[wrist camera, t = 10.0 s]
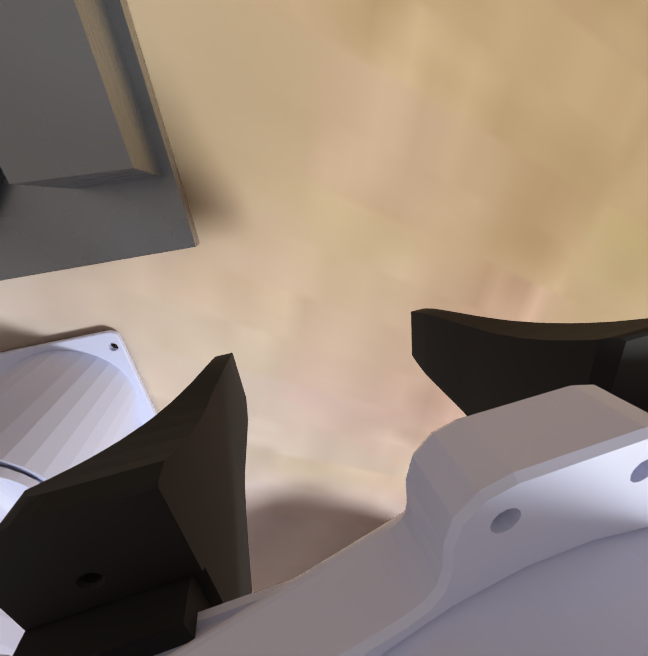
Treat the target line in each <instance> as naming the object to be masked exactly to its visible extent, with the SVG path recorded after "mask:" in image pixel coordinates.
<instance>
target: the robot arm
mask: <svg viewBox="0 0 648 656" xmlns="http://www.w3.org/2000/svg"><path fill="white" fill-rule="evenodd" d="M411 326H412V356H413V357H414V359H415V360H416V362H417V363H418V364H419V366H420V367H421V368H422V370H423V371H424V372H425V374H426V375H427V376H428V377H429V378H430V379H431V380H432V381H433V382H434V383H435V384H436V385H437V386H438V387H439V388H440V389H441V390H442V391H443V392H444V393H445V394H446V395H447V396H448V397H449V398H450V399H451V400H452V401H453V402H454V403H455V404H456V405H457V406H458V407H459V408H460V409H461V410H462V411H463V412H464V413H465V414H466V415H467V416H466V417H463V418H460V419H456V420H454V421H453V422H451V423H449V424H447V425H445V426H443V427H441V428H439V429H437V430H435V431H433V432H432V433H431V434H430V435H429V436H428V437H427V439H426V440H425V441H424V442H423V443H422V444H421V445H420V446H419V448H418V449H417V450H416V451H415V452H414V454H413V456H412V460H411V463H410V467H409V470H408V474H407V477H406V493H407V504H406V510H405V512H403V513H401V514H399V515H398V516H396V517H394V518H393V519H391V520H389V521H388V522H386V523H385V524H383V525H381V526H380V527H378V528H376V529H375V530H373V531H371V532H370V533H368V534H366V535H365V536H363V537H361V538H360V539H358V540H357V541H355V542H353V543H352V544H350V545H348V546H347V547H345V548H343V549H342V550H340V551H338V552H337V553H335V554H333V555H332V556H330V557H329V558H327V559H325V560H324V561H322V562H320V563H319V564H317V565H315V566H314V567H312V568H310V569H309V570H307V571H305V572H304V573H302V574H301V575H299V576H297V577H296V578H293V579H290V580H288V581H285V582H282V583H279V584H276V585H274V586H271V587H268V588H265V589H262V590H259V591H257V592H254V593H252V585H251V573H250V561H249V548H248V533H247V518H246V499H245V463H246V446H247V429H248V414H247V403H246V396H245V393H244V389H243V386H242V383H241V379H240V376H239V373H238V369H237V366H236V363H235V360H234V356H233V353H230V354H225V355H221V356H216V357H215V358H214V359H213V360H212V361H211V362H210V363H209V364H208V365H207V366H206V367H205V368H204V370H203V371H202V372H201V373H200V374H199V375H198V376H197V377H196V378H195V379H194V381H193V382H192V383H191V384H190V385H189V386H188V387H187V388H186V389H185V390H184V391H183V392H182V393H180V394H179V395H178V396H177V397H176V398H175V399H174V400H173V401H172V402H171V403H170V404H169V405H168V406H166V407H165V408H164V409H163V410H162V411H160V412H159V413H158V414H157V413H156V411H155V409H154V406H153V404H152V402H151V400H150V398H149V396H148V393H147V391H146V389H145V387H144V385H143V383H142V380H141V378H140V376H139V374H138V372H137V370H136V367H135V365H134V363H133V361H132V359H131V357H130V355H129V352H128V350H127V348H126V346H125V344H124V342H123V339H122V337H121V335H120V334H119V333H118V332H116V331H114V330H107V331H102V332H97V333H92V334H88V335H83V336H78V337H73V338H68V339H63V340H58V341H54V342H49V343H44V344H39V345H34V346H29V347H24V348H20V349H15V350H10V351H5V352H0V656H648V318H647V319H637V320H627V321H616V322H598V323H533V322H519V321H508V320H500V319H493V318H486V317H480V316H474V315H468V314H462V313H457V312H451V311H445V310H439V309H427V308H425V309H420V310H416V311H412V312H411ZM111 343H114V344H117V346H118V348H113V347H112V346H111Z"/></svg>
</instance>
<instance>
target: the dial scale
mask: <svg viewBox="0 0 648 656" xmlns="http://www.w3.org/2000/svg"><path fill="white" fill-rule="evenodd" d="M198 244H199V240H198V236H197V233H196V230H195V226H194V223H193V220H192V217H191V213H190V210H189V207H188V203H187V200H186V197H185V193H184V190H183V187H182V183H181V180H180V177H179V173H178V170H177V167H176V164H175V160H174V157H173V154H172V150H171V147H170V144H169V140H168V137H167V134H166V130H165V127H164V124H163V120H162V117H161V114H160V111H159V107H158V104H157V101H156V97H155V94H154V91H153V87H152V84H151V81H150V77H149V74H148V71H147V67H146V64H145V61H144V58H143V54H142V51H141V48H140V44H139V41H138V38H137V34H136V31H135V28H134V24H133V21H132V18H131V14H130V11H129V8H128V5H127V1H126V0H0V280H6V279H12V278H17V277H23V276H29V275H35V274H40V273H46V272H52V271H58V270H64V269H69V268H75V267H81V266H87V265H92V264H98V263H104V262H110V261H115V260H121V259H127V258H133V257H139V256H144V255H150V254H156V253H162V252H167V251H173V250H179V249H185V248H191V247H196V246H197V245H198Z"/></svg>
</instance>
